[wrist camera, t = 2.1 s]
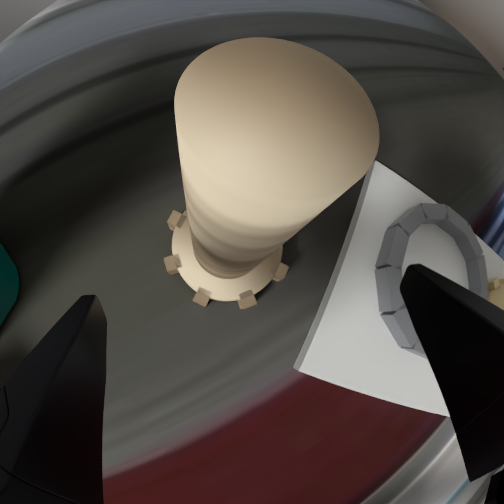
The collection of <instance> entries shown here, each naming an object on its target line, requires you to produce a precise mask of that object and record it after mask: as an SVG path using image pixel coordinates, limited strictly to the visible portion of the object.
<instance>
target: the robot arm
mask: <svg viewBox="0 0 504 504" xmlns="http://www.w3.org/2000/svg"><path fill="white" fill-rule="evenodd" d="M400 293H401V295H402V298H403V301H404V303H405V306H406V308H407V311H408V314H409V316H410V319H411V322H412V324H413V327H414V330H415V332H416V334H417V337H418V339H419V341H420V343H421V345H422V348H423V350H424V352H425V354H426V357H427V359H428V361H429V364H430V366H431V368H432V371H433V373H434V376H435V378H436V380H437V383H438V385H439V388H440V391H441V393H442V396H443V398H444V401H445V404H446V406H447V409H448V412H449V415H450V418H451V421H452V423H453V426H454V429H455V433H456V436H457V439H458V443H459V446H460V449H461V453H462V456H463V459H464V463H465V467H466V470H467V474H468V478H469V481H470V482H472V481H474V480H476V479H478V478H480V477H482V476H484V475H486V474H487V473H489V472H491V471H493V470H495V469H496V468H498V467H500V466H502V465H503V464H504V310H503V309H501V308H499V307H498V306H496V305H494V304H493V303H491V302H489V301H487V300H486V299H484V298H482V297H481V296H479V295H477V294H475V293H474V292H472V291H470V290H468V289H466V288H465V287H463V286H461V285H459V284H457V283H456V282H454V281H452V280H450V279H448V278H446V277H445V276H443V275H441V274H439V273H437V272H435V271H433V270H431V269H430V268H428V267H426V266H424V265H422V264H419V263H417V264H410V265H409V266H408V267H407V268H406V271H405V273H404V276H403V278H402V281H401V283H400ZM106 341H107V320H106V316H105V313H104V311H103V309H102V306H101V303H100V301H99V299H98V297H97V296H96V295H83V296H81V297H80V298H79V299H78V300H77V301H76V302H75V303H74V304H73V306H72V307H71V308H70V309H69V310H68V311H67V312H66V313H65V314H64V315H63V316H62V317H61V318H60V320H59V321H58V322H57V323H56V324H55V325H54V326H53V327H52V328H51V330H50V331H49V332H48V333H47V334H46V335H45V336H44V337H43V339H42V340H41V341H40V342H39V343H38V344H37V346H36V347H35V348H34V349H33V350H32V351H31V353H30V354H29V355H28V356H27V357H26V359H25V360H24V361H23V362H22V363H21V365H20V366H19V367H18V368H17V370H16V371H15V372H14V373H13V375H12V376H11V377H10V379H9V380H8V381H7V382H6V384H5V387H2V389H1V390H0V504H104V502H103V482H102V431H103V410H104V396H105V384H106ZM484 504H504V465H503V466H502V467H501V468H500V469H498V470H497V471H496V472H495V473H494V474H493V475H492V476H491V480H490V484H489V488H488V492H487V496H486V500H485V503H484Z"/></svg>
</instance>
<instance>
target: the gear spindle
mask: <svg viewBox="0 0 504 504" xmlns="http://www.w3.org/2000/svg"><path fill="white" fill-rule="evenodd" d="M174 109H175V120H176V129H177V138H178V147H179V155H180V164H181V171H182V179H183V186H184V193H185V200H186V207H187V209H186V210H185V211H184V213H183V214H181V213H179V212H177V211H174V210H173V212H172V214H171V216H170V217H169V219H168V221H167V223H168V226H169V228H170V229H171V230H173V231H174V233H173V238H172V252H173V255H171V256H168V257H166V258H163V259H164V262H165V265H166V269H167V272H168V273H169V274H170V275H172V274H175V273H178V272H179V273H180V275H181V276H182V278H183V279H184V280H185V282H186V283H187V284H188V285H189V286H190V287H191V288H192V289H193V290H194V291H196V294H195V296H194V299H193V301H194V302H196V303H198V304H200V305H202V306H204V307H206V305H207V303H208V301H209V299H212V300H216V301H236V300H237V301H238V304H239V307H240V309H245V308H248V307H251V306H253V305H256V304H257V302H256V300H255V297H254V294H255V293H257V292H259V291H260V290H261V289H263V288H264V287H265V286H266V285H267V284H268V283H269V282H270V281H271V280H272V279H273V280H275V281H280V280H282V279H284V277H285V275H286V273H287V270H288V268H289V266H287V265H285V264H283V263H281V258H282V250H283V246H282V245H283V244H284V243H285V242H286V241H287V240H289V239H290V238H291V237H292V236H293V235H295V234H296V233H297V232H298V231H299V230H301V229H302V228H303V227H304V226H305V225H307V224H308V223H309V222H310V221H311V220H312V219H314V218H315V217H316V216H317V215H318V214H320V213H321V212H322V211H323V210H324V209H325V208H327V207H328V206H329V205H330V204H331V203H333V202H334V201H335V200H336V199H337V198H338V197H340V196H341V195H342V194H343V193H344V192H345V191H347V190H348V189H349V188H350V187H351V186H353V185H354V184H355V183H356V182H357V181H358V180H360V179H361V178H362V177H363V176H364V175H365V173H366V172H367V171H368V170H369V169H370V167H371V165H372V163H373V162H374V160H375V157H376V154H377V152H378V146H379V125H378V120H377V116H376V113H375V110H374V108H373V105H372V103H371V101H370V99H369V98H368V96H367V94H366V93H365V91H364V90H363V88H362V87H361V86H360V84H359V83H358V82H357V81H356V80H355V79H354V78H353V76H352V75H350V74H349V73H348V72H347V71H346V70H345V69H344V68H343V67H341V66H340V65H339V64H337V63H336V62H335V61H333V60H332V59H330V58H329V57H327V56H325V55H323V54H322V53H320V52H318V51H316V50H314V49H311V48H309V47H306V46H304V45H301V44H298V43H294V42H291V41H286V40H282V39H274V38H261V37H258V38H244V39H237V40H233V41H229V42H225V43H222V44H220V45H217V46H215V47H213V48H211V49H209V50H207V51H205V52H204V53H202V54H201V55H199V56H198V57H197V58H196V59H195V60H194V61H193V62H191V63H190V65H189V66H188V67H187V68H186V69H185V71H184V72H183V74H182V76H181V78H180V79H179V82H178V85H177V88H176V92H175V98H174Z"/></svg>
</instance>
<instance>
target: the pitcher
mask: <svg viewBox="0 0 504 504" xmlns="http://www.w3.org/2000/svg"><path fill="white" fill-rule="evenodd" d="M18 293H19V275H18V271H17V267H16V266H15V264H14V263H13V261H12V260H11V258H10V257H9V255H8V253H7V252H6V250H5V249H4V247H3V246H2V244H1V242H0V326H1V324H2V323H3V321H4V319H5V318H6V316H7V314H8V313H9V311H10V310H11V308H12V307H13V305H14V303H15V302H16V300H17V296H18Z"/></svg>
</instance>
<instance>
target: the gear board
mask: <svg viewBox="0 0 504 504" xmlns="http://www.w3.org/2000/svg"><path fill="white" fill-rule="evenodd" d="M417 263H419V264H422V265H424V266H426V267H428V268H430V269H431V270H433V271H435V272H437V273H439V274H441V275H443V276H445V277H446V278H448V279H450V280H452V281H454V282H456V283H457V284H459V285H461V286H463V287H465V288H466V289H468V290H470V291H472V292H474V293H475V294H477V295H479V296H481V297H482V298H484V299H486V300H487V301H489V302H491V303H493V304H494V305H496V306H498V307H499V308H501V309H503V310H504V260H503V259H502V258H501V257H500V256H498V255H497V254H496V253H495V252H494V251H493V250H492V249H491V248H490V247H489V246H488V245H487V244H486V243H485V242H483V241H482V240H481V239H480V238H479V237H478V236H477V235H476V234H474V232H473V230H472V228H471V226H470V224H469V225H468V222H467V221H466V220H465V219H464V218H462V217H461V216H460V215H459V214H458V213H456V212H455V211H454V210H453V209H452V208H450V207H449V206H448V205H445V204H438V203H436V202H435V201H434V200H432V199H431V198H430V197H428V196H427V195H426V194H424V193H423V192H422V191H420V190H419V189H417V188H416V187H415V186H413V185H412V184H410V183H409V182H408V181H406V180H405V179H403V178H402V177H400V176H399V175H397V174H396V173H394V172H393V171H391V170H390V169H388V168H387V167H385V166H384V165H382V164H381V163H379V162H377V161H376V160H375V161H374V162H373V163H372V165H371V167H370V169H369V170H368V171H367V173H366V176H365V179H364V183H363V186H362V189H361V192H360V196H359V199H358V202H357V205H356V208H355V211H354V214H353V217H352V220H351V223H350V226H349V229H348V232H347V235H346V238H345V241H344V243H343V246H342V249H341V252H340V255H339V257H338V260H337V263H336V265H335V268H334V271H333V273H332V276H331V279H330V281H329V284H328V286H327V289H326V291H325V294H324V297H323V299H322V302H321V304H320V306H319V309H318V311H317V314H316V316H315V319H314V321H313V323H312V326H311V328H310V330H309V333H308V335H307V337H306V340H305V342H304V344H303V346H302V349H301V351H300V353H299V355H298V358H297V360H296V362H295V364H294V366H293V368H295V369H296V370H298V371H300V372H303V373H305V374H308V375H311V376H314V377H316V378H319V379H322V380H325V381H327V382H330V383H333V384H336V385H339V386H342V387H345V388H348V389H351V390H354V391H357V392H360V393H363V394H367V395H370V396H373V397H376V398H380V399H383V400H386V401H390V402H393V403H397V404H401V405H404V406H408V407H412V408H415V409H419V410H423V411H427V412H431V413H436V414H440V415H444V416H449V417H450V415H449V412H448V409H447V406H446V404H445V401H444V398H443V396H442V393H441V391H440V388H439V385H438V383H437V380H436V378H435V376H434V373H433V371H432V368H431V366H430V364H429V361H428V359H427V357H426V354H425V352H424V350H423V348H422V345H421V343H420V341H419V339H418V337H417V334H416V332H415V330H414V327H413V324H412V322H411V319H410V316H409V314H408V311H407V308H406V306H405V303H404V301H403V298H402V295H401V293H400V283H401V281H402V278H403V276H404V273H405V271H406V268H407V267H408V266H409V265H410V264H417Z"/></svg>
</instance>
